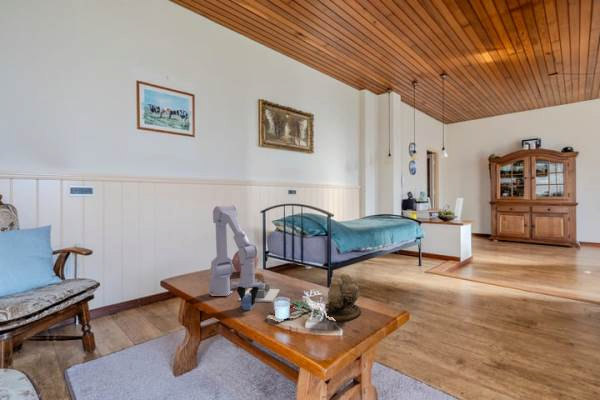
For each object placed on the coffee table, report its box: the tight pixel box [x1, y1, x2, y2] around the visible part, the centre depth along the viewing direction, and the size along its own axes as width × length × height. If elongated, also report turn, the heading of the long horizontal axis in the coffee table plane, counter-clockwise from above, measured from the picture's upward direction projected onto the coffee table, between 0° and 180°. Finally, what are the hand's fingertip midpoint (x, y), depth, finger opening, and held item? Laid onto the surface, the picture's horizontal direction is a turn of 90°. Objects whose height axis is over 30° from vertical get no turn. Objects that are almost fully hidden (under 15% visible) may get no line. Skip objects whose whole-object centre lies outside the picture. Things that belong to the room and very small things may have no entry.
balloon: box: [231, 249, 258, 273], centre depth 185 cm, size 15×20×15 cm
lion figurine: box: [239, 272, 267, 284], centre depth 162 cm, size 15×5×9 cm, turn 123°
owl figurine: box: [324, 272, 362, 323], centre depth 122 cm, size 18×12×17 cm, turn 131°
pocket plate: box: [238, 283, 280, 303], centre depth 146 cm, size 16×16×4 cm
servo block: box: [239, 294, 256, 311], centre depth 131 cm, size 4×12×5 cm, turn 172°
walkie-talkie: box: [268, 303, 304, 316], centre depth 123 cm, size 9×4×20 cm
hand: (248, 304), depth 131 cm, fingers closed on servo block, 4 cm apart
